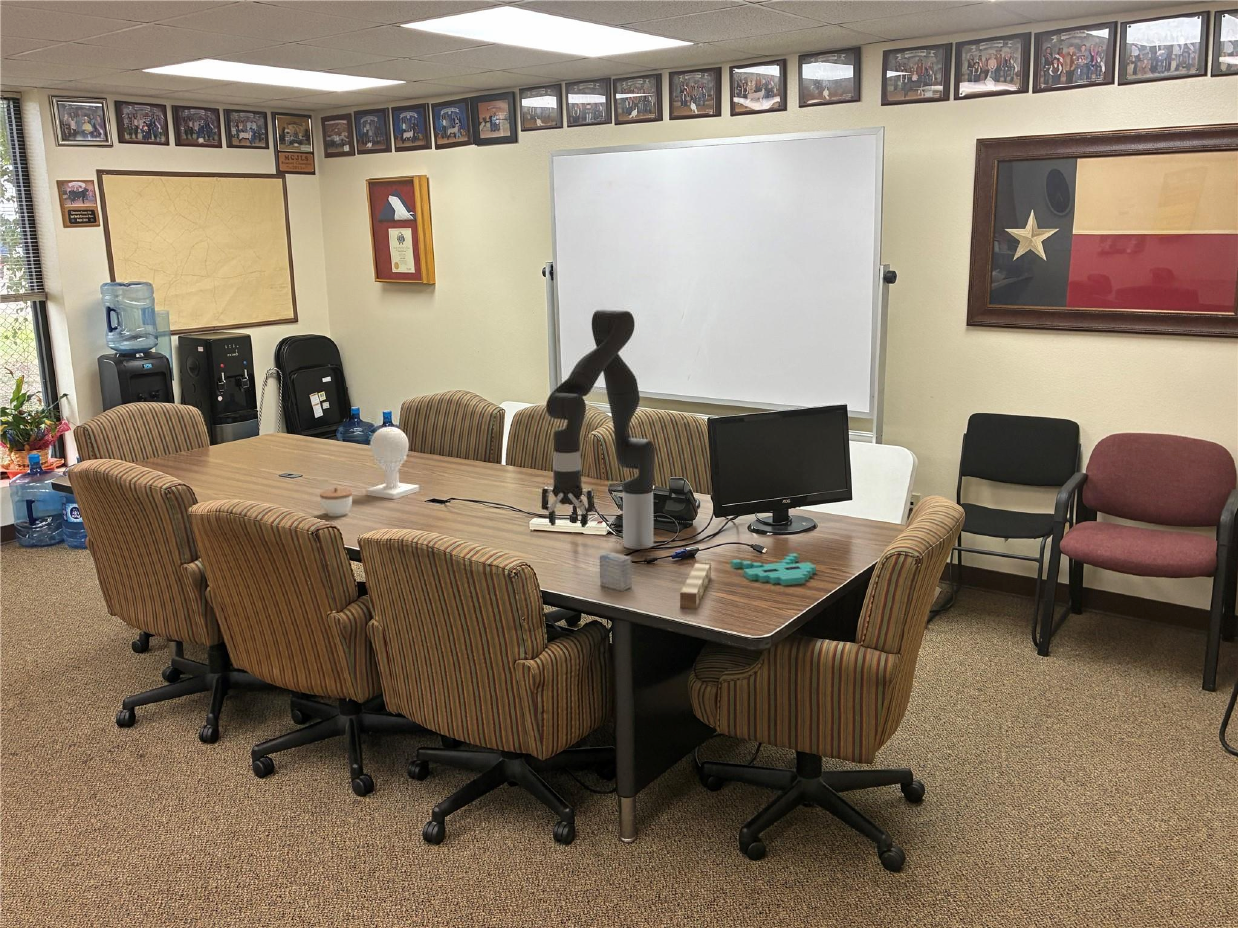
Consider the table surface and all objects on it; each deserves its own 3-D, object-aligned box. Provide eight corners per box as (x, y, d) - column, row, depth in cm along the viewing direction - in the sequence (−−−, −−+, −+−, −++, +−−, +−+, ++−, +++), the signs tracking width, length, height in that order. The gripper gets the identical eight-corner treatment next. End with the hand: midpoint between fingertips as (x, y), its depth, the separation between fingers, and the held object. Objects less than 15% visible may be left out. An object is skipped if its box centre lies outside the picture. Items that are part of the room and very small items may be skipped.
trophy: (365, 494, 386) (361, 428, 380) (390, 486, 397) (387, 422, 392) (394, 499, 379) (390, 432, 373) (419, 491, 391) (416, 425, 385)
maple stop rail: (696, 576, 291) (696, 562, 290) (710, 576, 290) (710, 562, 289) (680, 607, 267) (680, 592, 266) (696, 609, 266) (696, 593, 265)
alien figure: (731, 567, 300) (759, 589, 281) (731, 560, 299) (759, 581, 280) (794, 560, 305) (826, 581, 286) (795, 553, 305) (827, 574, 286)
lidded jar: (315, 517, 356) (313, 490, 354) (331, 509, 366) (329, 483, 364) (344, 519, 353) (342, 492, 351) (359, 511, 364) (357, 484, 361)
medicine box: (632, 587, 283) (631, 556, 281) (621, 591, 279) (620, 560, 277) (610, 581, 288) (610, 551, 286) (599, 585, 284) (599, 555, 283)
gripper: (596, 465, 281) (597, 523, 285) (545, 463, 285) (547, 520, 288) (589, 471, 274) (590, 530, 278) (537, 469, 277) (539, 528, 281)
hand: (568, 525), depth 283 cm, fingers open, 8 cm apart
